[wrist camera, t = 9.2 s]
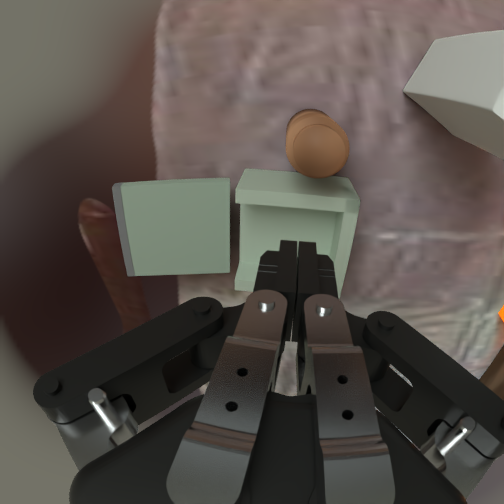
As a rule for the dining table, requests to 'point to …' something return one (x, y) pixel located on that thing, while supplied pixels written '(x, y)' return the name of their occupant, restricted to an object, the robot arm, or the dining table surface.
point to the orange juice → (502, 313)
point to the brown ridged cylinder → (316, 144)
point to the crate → (294, 218)
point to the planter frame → (495, 375)
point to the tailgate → (174, 226)
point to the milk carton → (465, 87)
